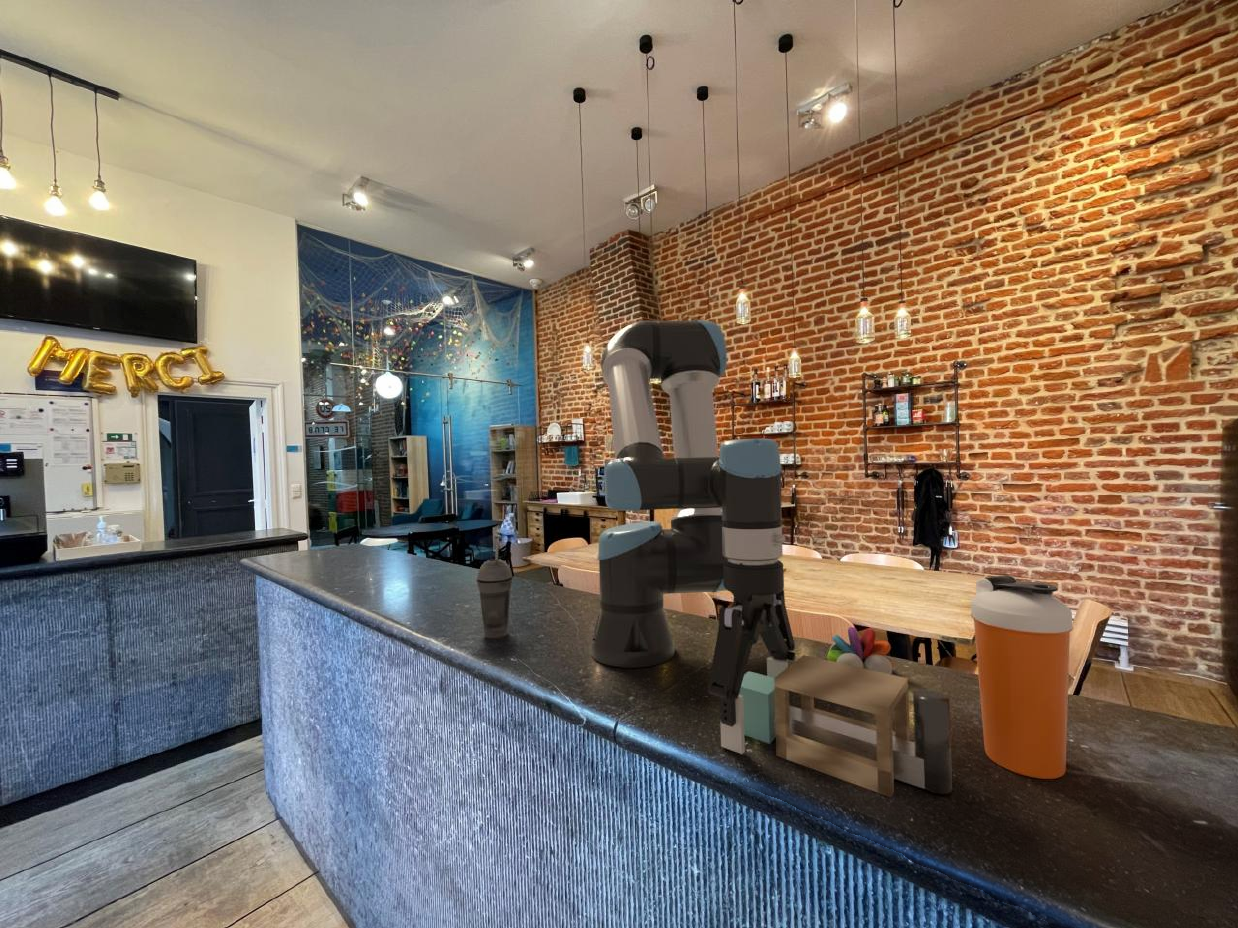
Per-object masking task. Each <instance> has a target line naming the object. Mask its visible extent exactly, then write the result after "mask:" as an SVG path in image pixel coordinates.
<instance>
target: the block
mask: <svg viewBox="0 0 1238 928" xmlns="http://www.w3.org/2000/svg"><path fill="white" fill-rule="evenodd" d="M739 695H742V696H743V705H744V736H746V737H748V738H749V737H750V738H752V739H754V740H758V741H760V742H763V743H767V744H769V745H771V743H772V742H773V741H774V740H776V738H774V737H773V718H772V712H774V711H775V684H774V678H773V677H769V676H767V675H765V674H761V673H758V672H753V671H750V670H749V671H747V672H745V674H744V677H743V681H742V685H741V689H740V692H739Z"/></svg>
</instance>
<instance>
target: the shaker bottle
mask: <svg viewBox="0 0 1238 928" xmlns="http://www.w3.org/2000/svg"><path fill="white" fill-rule="evenodd" d="M975 589H976V594H975V595H974V596H972V598H971V600H970V610H971V611H970V616H971V618H972V619H973V626H974V627H973V628H974V637H975V638H974V639H975V647H976V648H975V650H976V662H977V673H978V683H979V684H978V685H979V686H978V687H979V698H980V708H981V721H982V731H983V734H982V735H983V743H984V746H983V747H984V752H985V754H986V756H987V757H988V758H989V759H990V760H991V761H993V762H994V763H995V764H997V765H998V766H1000V767H1002V768H1004V769H1006V770H1008V771H1010V772H1012V773H1015V774H1018V775H1022V776H1025V777H1030V778H1035V779H1044V780H1053V779H1059V778H1060V777H1063V776H1064V775H1065V774H1066V770H1067V769H1066V767H1067V765H1066V764H1067V736H1068V735H1067V733H1068V732H1067V731H1068V729H1067V728H1068V706H1069V705H1068V704H1069V703H1068V700H1069V699H1068V698H1069V697H1068V696H1069V675H1070V674H1069V671H1070V670H1069V669H1070V668H1069V665H1070V634H1071V633H1070V632H1072V631H1073V613H1072V610H1071V609H1070V608H1069V607H1068V606H1067V605H1066V604H1065V602H1064V601H1062V600H1060V599H1059V598H1057V597H1055V596H1053V593H1054V592H1057V591H1059V588H1058V587H1057V586H1055V585H1053V584H1049V583H1043V582H1036V581H1035V582H1034V581H1023V580H1022V581H1018V580H1017V579H1016V577H1014V576H1012V575H998V576H997V575H996V576H989V577H988V576H987V577H981V578H978V580H977V581H976V588H975Z"/></svg>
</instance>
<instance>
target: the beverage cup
mask: <svg viewBox="0 0 1238 928" xmlns="http://www.w3.org/2000/svg"><path fill="white" fill-rule="evenodd" d="M499 541H500V538H499V537H496V538H495V555H494V557H495V558H490V559H487V560H486V561H485V562H483V563H482V564H481V566H480V568H479V569H478V572H477V578H476V583H477V588H478V591H479V598H480V606H481V607H480V608H481V609H480V610H481V617H482V624H483V625H482V626H483V630H484V631H483V632H484V637H485V638H487V639H500V638H504V637H506V636H507V635H508V629H509V617H510V615H509V614H510V602H511V601H510V600H511V599H510V598H511V597H510V596H511V588H512V582H513V581H512V580H513V578H514V577H513V574H512V570H511V567H510V566H509V564H508V563H507V562H506V561H504V560H502V559H500V558H499V546H500V545H499Z"/></svg>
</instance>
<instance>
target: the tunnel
mask: <svg viewBox="0 0 1238 928" xmlns="http://www.w3.org/2000/svg"><path fill="white" fill-rule="evenodd" d="M774 684H775V719H776V738H775V746H776V747H775V749H776V751H775V752H776V753H775V754H776V756H777V757H779V758H782V759H784V760H787V761H789V762H793V763H795V764H798V765H801V766H804V767H806V768H809V769H812V770H814V771H818V772H820V773H823V774H825V775H828V776H831V777H833V778H836V779H839V780H842V781H845V782H847V783H850V784H853V785H855V786H859V787H861V788H864V789H867V790H869V791H873V792H876V793H878V794H880V795H882V796H883V795H884V796H886V797H887V798H892V797H893V795H894V793H895V784H894V782H895V781H894V774H893V739H892V736H895V737H898V738H902V739H905V740H909V741H911V739H910V738H911V737H910V735H911V733H910V703H909V678H908V677H903V676H898V675H894V674H886V673H882V672H877V671H873V670H868V669H864V668H859V667H855V666H850V665H846V664H841V663H837V662H832V661H828V659H824V658H823V659H822V658H818V657H813V656H809V655H806V654H802V656H800V657H799V658H797V659H796V660H794V661H793V663H791V664H790V665H788V667H787V668H786V669H785V670H784V671H782V672H781V673H780V674H779V675H777V676H776V677H775V678H774ZM790 692H793V693H797V694H800V709H803V710H806V711H810V712H813V713H816V714H820V715H823V716H827V717H830V718H834V719H837V720H840V721H844V722H847V723H851V724H854V725H857V726H861V727H864V728H868V729H871V730H874V731H876V737H877V762H876V761H873V760H870V759H867V758H864V757H861V756H858V755H855V754H852V753H849V752H846V751H843V750H840V749H837V748H834V747H831V746H828V745H825V744H822V743H819V742H816V741H813V740H810V739H806V738H803V737H800V736H797V735H794V734H791V733H790V711H789V706H790ZM814 699H819V700H823V701H825V702H830V703H833V704H837V705H841V706H843V707H848V708H851V709H854V710H855V709H856V710H858V711H863V712H866V713H870V714H873V715H875V725H874V724H872V723H868V722H865V721H861V720H857V719H854V718H851V717H846V716H843V715H840V714H837V713H832V712H829V711H825V710H823V709H819V708H815V700H814ZM893 712H894V728H895V729H894V730H893V715H892V714H893Z"/></svg>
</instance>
